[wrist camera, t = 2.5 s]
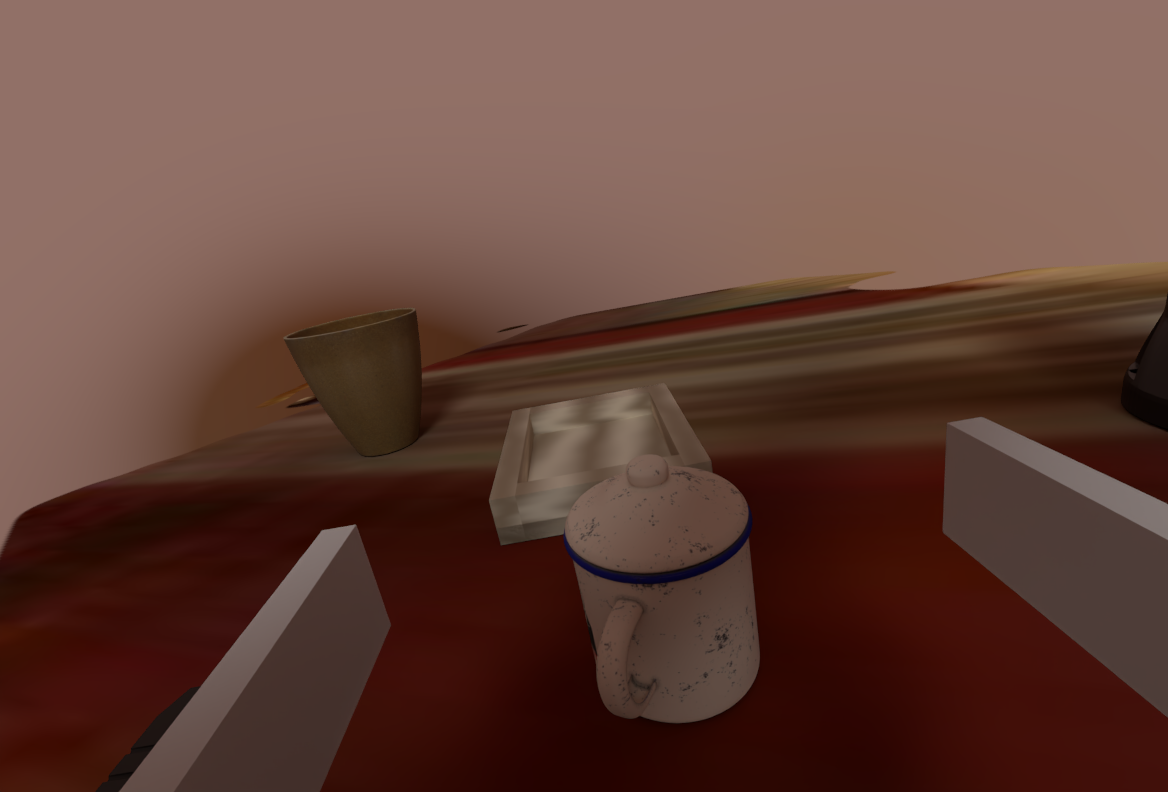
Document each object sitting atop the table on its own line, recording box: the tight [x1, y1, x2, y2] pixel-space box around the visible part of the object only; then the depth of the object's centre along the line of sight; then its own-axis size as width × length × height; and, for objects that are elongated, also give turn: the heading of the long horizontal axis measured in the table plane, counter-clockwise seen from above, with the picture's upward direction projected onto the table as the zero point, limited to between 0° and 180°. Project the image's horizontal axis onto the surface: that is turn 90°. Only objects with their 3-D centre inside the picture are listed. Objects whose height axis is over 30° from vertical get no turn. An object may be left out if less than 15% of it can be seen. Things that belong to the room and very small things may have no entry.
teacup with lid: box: [564, 454, 760, 723], centre depth 26 cm, size 12×9×12 cm
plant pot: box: [284, 308, 422, 456], centre depth 67 cm, size 15×15×16 cm
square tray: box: [489, 383, 713, 545], centre depth 51 cm, size 17×20×4 cm
